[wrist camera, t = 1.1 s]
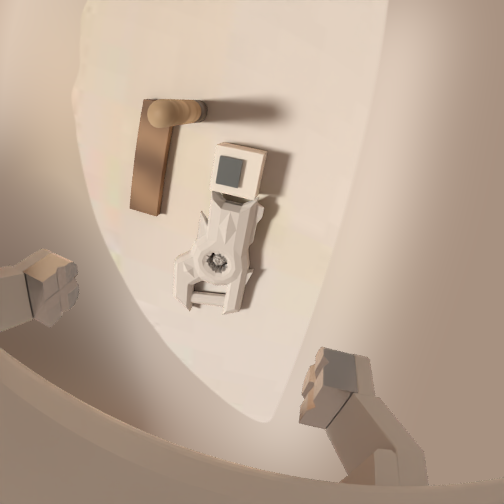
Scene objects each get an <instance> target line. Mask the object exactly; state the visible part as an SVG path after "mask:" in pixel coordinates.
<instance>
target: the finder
mask: <svg viewBox="0 0 504 504" xmlns="http://www.w3.org/2000/svg"><path fill="white" fill-rule="evenodd" d="M267 152H268V151H264V150H259V149H255V148H250V147H245V146H241V145H236V144H231V143H226V142H223V143H220V144H217V145H216V150H215V156H214V162H213V168H212V174H211V180H210V187H209V190H211V191H216V192H220V193H224V194H229V195H233V196H237V197H241V198H246V199H250V200H255V198H256V197H257V195H258V194H259V189H260V185H261V180H262V175H263V170H264V166H265V161H266V156H267Z"/></svg>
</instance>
